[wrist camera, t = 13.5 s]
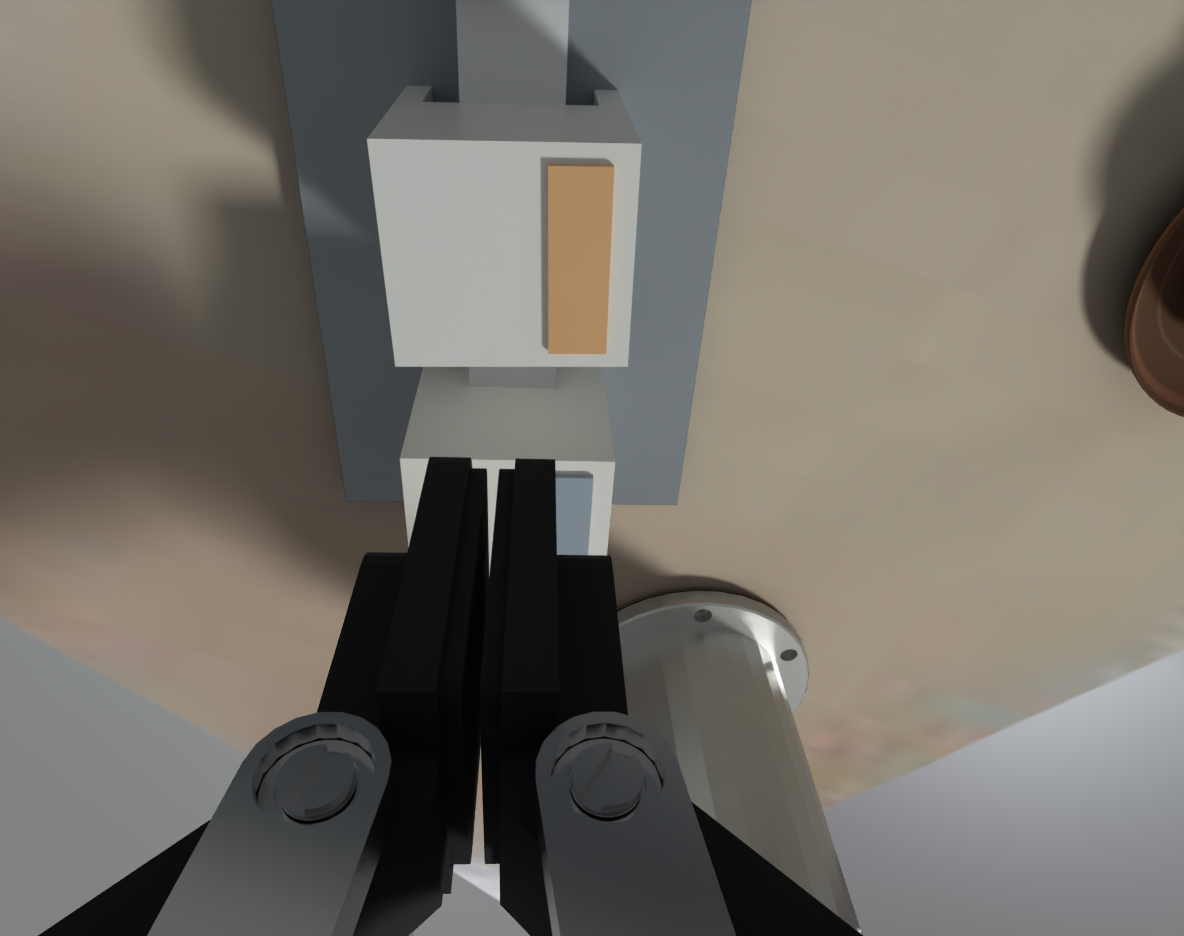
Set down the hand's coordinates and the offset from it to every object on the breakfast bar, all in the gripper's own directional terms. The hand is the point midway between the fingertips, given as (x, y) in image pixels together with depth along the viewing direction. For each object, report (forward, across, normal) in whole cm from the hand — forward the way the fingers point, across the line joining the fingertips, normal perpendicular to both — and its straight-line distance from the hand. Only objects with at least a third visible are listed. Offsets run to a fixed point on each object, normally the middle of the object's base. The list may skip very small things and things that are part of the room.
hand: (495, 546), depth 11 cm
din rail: (+20, 0, +3) cm, 20 cm away
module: (+19, 0, 0) cm, 19 cm away
